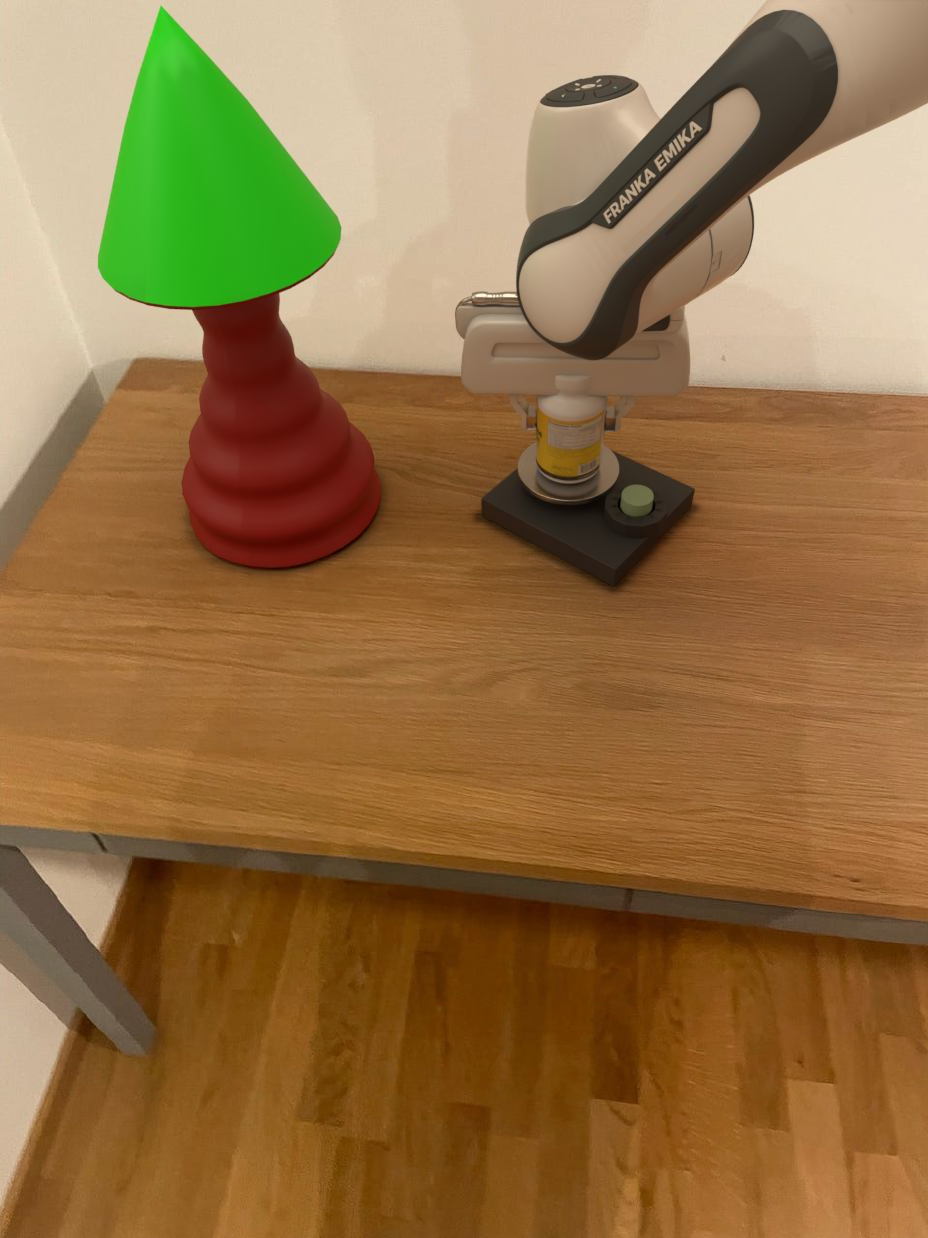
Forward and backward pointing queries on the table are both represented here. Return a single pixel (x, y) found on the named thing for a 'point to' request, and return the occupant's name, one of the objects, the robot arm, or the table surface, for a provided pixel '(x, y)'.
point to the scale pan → (562, 491)
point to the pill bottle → (570, 431)
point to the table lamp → (236, 308)
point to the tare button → (636, 500)
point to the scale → (592, 520)
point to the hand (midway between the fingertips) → (570, 427)
